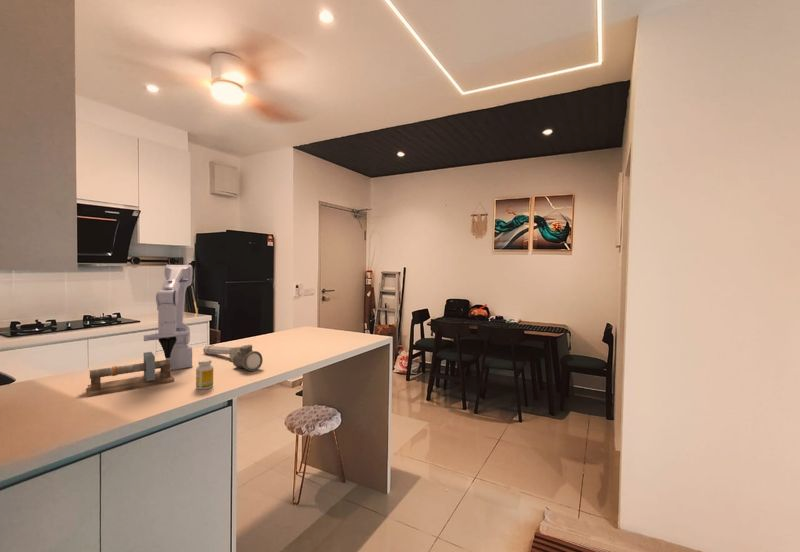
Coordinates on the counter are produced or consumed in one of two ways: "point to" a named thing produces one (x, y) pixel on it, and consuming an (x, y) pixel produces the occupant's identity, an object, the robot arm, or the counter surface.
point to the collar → (149, 366)
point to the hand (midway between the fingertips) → (167, 357)
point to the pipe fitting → (248, 358)
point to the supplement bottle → (204, 374)
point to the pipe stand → (129, 383)
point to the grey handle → (221, 350)
